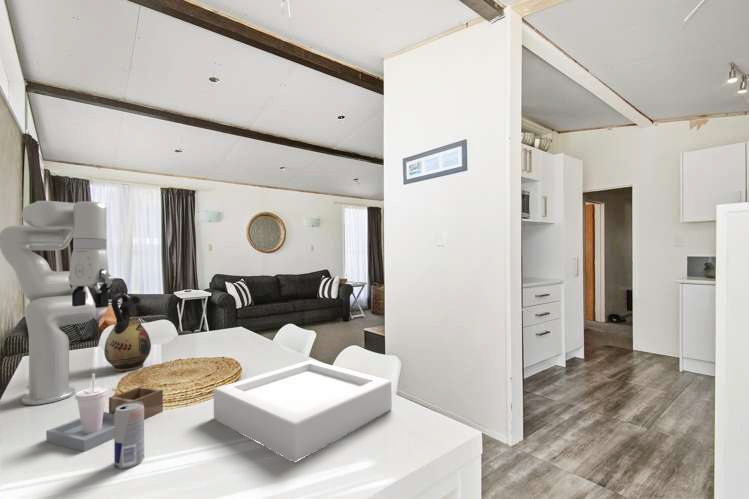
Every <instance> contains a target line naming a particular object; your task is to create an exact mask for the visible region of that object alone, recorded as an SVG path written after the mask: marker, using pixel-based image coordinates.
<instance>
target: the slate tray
mask: <svg viewBox="0 0 749 499" xmlns="http://www.w3.org/2000/svg"><path fill="white" fill-rule="evenodd" d="M45 432H46V436H45V437H46V442H48V443H51V444H56V445H59V446H63V447H66V448H71V449H74V450H77V451H81V452H87V451H89V450H91V449H93V448H96V447H98V446H100V445H102V444H104V443H106V442H108V441H112V440H114V414H111V413H109V412H107V411H104V413H103V420H102V428H101V429H100V430H99V431H97V432H94V433H89V434H84V433H83V430H82V424H81V418H80V417H79V418H76V419H74V420H70V421H69V422H66V423H63V424H61V425H58V426H55V427H53V428H49V429H48V430H46V431H45Z"/></svg>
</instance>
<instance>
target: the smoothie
mask: <svg viewBox="0 0 749 499" xmlns="http://www.w3.org/2000/svg"><path fill="white" fill-rule="evenodd" d="M91 383H92V384H91V387H90V388H85V389H83V390H80V391H78V392H76V394H75V397H74V398H75V400H77V407H78V412H79V418H81V424H82V430H83V433H84V434H89V433H94V432H97V431H99V430H100V429H101V428H102V420H103V413H104V412H105V411H104V410H105V403H106V396H107V394H108V387H105V386H96V373H92V374H91Z"/></svg>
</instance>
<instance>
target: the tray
mask: <svg viewBox="0 0 749 499" xmlns="http://www.w3.org/2000/svg"><path fill="white" fill-rule="evenodd" d="M392 400H393V399H392V381H391V380H390V379H387V378H384V377H383V378H382V377H378V376H375V375H372V374H366V373H363V372H359V371H356V370H351V369H348V368H344V367H340V366H337V365H331V364H328V363H324V362H320V361H316V360H312V359H309V360H306V361H302V362H299V363H295V364H293V365H292V364H291V365H289V366H286V367H282V368H280V369H276V370H271V371H268V372H266V373H261V374H258V375H255V376H251V377H248V378H246V379H242V380H239V381H234V382H231V383H229V384H225V385H221V386H217V387H215V388H214V389H213V419H214V420H215V421H216V420H217V422H218V421H219V422H218V423H220V422H221V423H220V424H222V425H224V426H225V427H227V426H229V427H231V428H233V429H234V430H233V429H232V430H233V431H235V430H236V431H238V432H240V433H242V434H244V435H246V436H248V437H250V438H252V439H254V440H256V441H258V442H260V443H261V444H263V445H264V446H266V447H268V448H270V449H271V450H273V451H275V452H277V453H279V454H281V455H283V456H284V457H286V458H288V459H290V460H292V461H297V460H298V459H300V458H302V457H304V456H306V455H308V454H310V453H312V452H314V451H316V450H318V449H320V448H322V447H323V446H325V445H327V444H329V443H331V442H332V443H334V442H335V441H334V440H336V439H338V438H340V437H341V438H343V437H345V436H346V435H345V434H347V435H349V434H350V433H352V432H354V431H356V430H357V428H358V427H359V428H361V427H363V426H365V425H366V424H365V423H367V422H369V421H370V422H372V421H373V420H372V419H374V418H376V417H378V416H379V417H381V416H383V415H384V414H383V413H385V412H387V411H388V412H390V411H392V407H393V405H392V404H393V403H392V402H393V401H392ZM389 410H390V411H389ZM388 412H387V413H388ZM382 414H383V415H382ZM385 414H386V413H385ZM380 415H381V416H380ZM379 417H378V418H379ZM376 419H377V418H376ZM371 420H372V421H371ZM374 420H375V419H374ZM370 422H369V423H370ZM364 424H365V425H364ZM367 424H368V423H367ZM362 425H363V426H362ZM360 426H361V427H360ZM229 427H228V428H229ZM231 428H230V429H231ZM359 428H358V429H359ZM355 429H356V430H355ZM353 430H354V431H353ZM236 431H235V432H236ZM351 431H352V432H351ZM238 432H237V433H238ZM240 433H239V434H240ZM348 433H349V434H348ZM242 434H241V435H242ZM244 435H243V436H244ZM344 435H345V436H344ZM246 436H245V437H246ZM342 436H343V437H342ZM341 438H340V439H341ZM338 440H339V439H338ZM333 441H334V442H333ZM336 441H337V440H336ZM332 443H331V444H332ZM329 445H330V444H329ZM264 446H263V447H264ZM327 446H328V445H327ZM266 447H265V448H266ZM325 447H326V446H325ZM323 448H324V447H323ZM323 448H322V449H323ZM271 450H270V451H271ZM320 450H321V449H320ZM273 451H272V452H273ZM318 451H319V450H318ZM275 452H274V453H275ZM316 452H317V451H316ZM277 453H276V454H277ZM314 453H315V452H314ZM284 457H283V458H284ZM286 458H285V459H286ZM288 459H287V460H288Z"/></svg>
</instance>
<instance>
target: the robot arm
mask: <svg viewBox="0 0 749 499" xmlns="http://www.w3.org/2000/svg"><path fill="white" fill-rule="evenodd" d="M107 212H108V210H107V206H106V205H105V203H102V202H98V201H83V200H82V201H77V202H66V201H55V200H54V201H53V200H37V201H35V202H32V203H30V204H27V205H26V206H25V207H24V208H23V209H22V212H21V217H22V219H23V221H24V222H25V223H26V224H27V225H26V224H18V225H16V224H15V225H11V226H10V225H9V226H7V227H4V228H2V230H1V231H0V252H1V254H2V255H3V258H4V259H5V260H6V261H7V263H8V264H9V265H10V266H11V268H12V269H13V270H14V273H15V276H16V277H17V281H18V283H19V285H20V288H21V290H22V293H23V295H24V296H25V298H26V299H27V300H29V301H30V302H28V303H27V305H26V306H25V308H24V318H25V322H26V327H27V333H28V384H27V386H26V389H27V390H28V394H26V395H25V396H24V397H23V398H22V399H21V403H22V404H23V405H25V406H27V405H28V406H36V405H37V406H38V405H45V404H50V403H55V402H58V401H62V400H64V399H67V398H69V397H72V396H73V395H74V394H75V393H76V388H75V387H72V386H70V339H69V336H68V335H67V334H66V333H65V332H64V331H62V330H61V328H60V327H64V326H69V325H77V324H83V323H87V322H89V321H91V320H92V319H94V318H95V315H96V312H97V309H99V308H106V307H109V295H110V294H109V293H110V291H111V288H112V283H113V282H114V276H112V275H111V274H110V273H109V271H110V269H109V260H108V253H107V248H108V247H107V246H108V245H107V244H108V241H107V238H108V235H107V231H108V230H107V227H108V226H107V225H108V224H107V223H108V222H107V221H108V218H107V214H108V213H107ZM72 239H73V240H72ZM72 241H73V242H72ZM70 242H72V248H73V250H72V252H71V257H70V264H69V271H67V270H66V271H65V270H64V271H63V270H62V271H54V270H52V268H51V267H50V265H49V263H48V262H47V260H46V259H45V258H43V257H42V256H41V255H39V254H37V253H35V252H33V251H61V250H62V251H63V250H64V249H66V248H67V247H68V246H69V244H70ZM92 286H93V287H94V290H95V291H96V293H94V296H95V297H94V298H93V295H92V293H91V291H90V288H89V287H92Z"/></svg>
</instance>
